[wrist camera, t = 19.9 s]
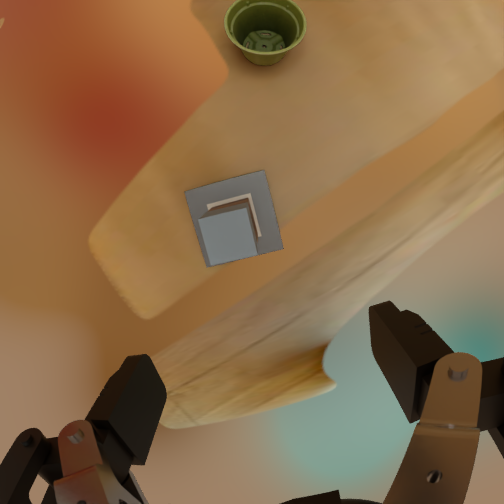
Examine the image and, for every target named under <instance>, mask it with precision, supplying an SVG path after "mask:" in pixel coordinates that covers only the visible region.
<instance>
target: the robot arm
mask: <svg viewBox="0 0 504 504" xmlns="http://www.w3.org/2000/svg"><path fill="white" fill-rule="evenodd" d="M369 322H370V335H371V347H372V351H373V355H374V358H375V360H376V362H377V364H378V365H379V367H380V369H381V371H382V372H383V374H384V376H385V378H386V380H387V381H388V383H389V385H390V387H391V389H392V391H393V392H394V394H395V396H396V398H397V400H398V402H399V404H400V406H401V408H402V409H403V411H404V413H405V415H406V417H407V419H408V421H409V423H413V422H415V421H417V420H420V421H419V423H417V425H416V427H415V430H414V433H413V436H412V438H411V441H410V443H409V446H408V449H407V451H406V454H405V456H404V459H403V461H402V463H401V466H400V468H399V471H398V473H397V475H396V477H395V479H394V481H393V484H392V486H391V488H390V490H389V492H388V494H387V496H386V498H385V500H384V502H383V504H463V503H464V500H465V497H466V493H467V490H468V486H469V483H470V479H471V474H472V470H473V466H474V462H475V457H476V453H477V447H478V442H479V435H480V432H481V431H485V430H488V432H489V433H490V435H491V437H492V438H493V440H494V442H495V444H496V445H497V447H498V449H499V451H500V452H501V454H502V456H503V458H504V357H503V358H499V359H495V360H490V361H486V362H480V361H479V360H478V359H477V358H476V357H475V356H473V355H470V354H468V353H461V352H460V353H459V352H457V353H454V352H453V350H452V349H451V348H450V347H449V346H448V345H447V344H446V343H445V342H444V341H443V340H442V339H441V338H440V337H439V336H438V334H437V333H436V332H435V331H433V330H432V328H431V327H430V326H429V325H428V324H426V322H425V321H424V320H423V319H422V318H421V317H420V316H419V315H418V314H416V313H413V312H411V311H409V310H404V311H401V312H400V311H399V309H398V308H397V307H396V306H395V305H394V304H393V303H392V302H391V301H387V302H383V303H380V304H376V305H373V306H370V307H369ZM166 398H167V393H166V388H165V385H164V383H163V382H162V380H161V378H160V376H159V374H158V372H157V370H156V368H155V366H154V364H153V362H152V360H151V358H150V357H149V356H148V355H147V354H142V355H133V356H128V357H127V358H126V359H125V361H124V362H123V364H122V365H121V367H120V369H119V370H118V371H117V372H116V373H115V374H113V375H112V376H111V377H110V378H109V380H108V382H107V383H106V385H105V386H104V389H103V390H102V391H101V393H100V396H98V398H97V400H96V401H95V403H94V405H93V407H92V408H91V410H90V411H89V413H88V415H87V417H86V418H85V420H77V421H73V422H71V423H69V424H67V425H66V426H65V427H64V428H63V429H62V430H61V432H60V433H59V436H58V437H54V438H46V437H45V436H44V435H43V434H42V432H41V431H40V430H39V429H37V428H30V429H27V430H25V431H23V432H22V433H21V434H20V435H19V436H18V437H17V438H16V440H15V441H14V443H13V445H12V446H11V448H10V449H9V451H8V453H7V454H6V456H5V458H4V459H3V461H2V463H1V465H0V504H32V503H31V501H30V499H29V491H30V489H31V487H32V485H33V483H34V481H35V479H36V476H37V474H39V475H40V476H41V477H42V478H43V479H44V480H45V481H46V482H47V483H48V484H49V487H48V489H47V491H46V493H45V496H44V498H43V501H42V503H41V504H149V503H148V501H147V500H146V498H145V496H144V494H143V492H142V490H141V489H140V487H139V484H138V483H137V480H136V479H135V476H134V474H133V473H132V472H131V471H130V470H129V469H130V466H131V465H145V462H146V459H147V456H148V453H149V450H150V447H151V444H152V441H153V438H154V435H155V432H156V429H157V426H158V423H159V420H160V417H161V414H162V411H163V408H164V405H165V402H166ZM281 504H382V503H378V502H374V501H369V500H362V499H340V495H339V490H335V491H331V492H327V493H322V494H317V495H312V496H307V497H301V498H296V499H292V500H289V501H286V502H284V503H281Z"/></svg>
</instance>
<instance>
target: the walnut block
mask: <svg viewBox="0 0 504 504" xmlns="http://www.w3.org/2000/svg"><path fill="white" fill-rule="evenodd" d="M246 202H248V206H249V210H250V214H251V219H252V223H253V227H254V231H255V235H256V240H257V243H258V232H257V228H256V224H255V221H254V217H253V213H252V209H251V206H250V202H249V198H244V199H240V200H237V201H233V202H229V203H225V204H222V205H218V206H215V207H212V208H211V209H209V210H208V211H207V212H209V211H213V210H217V209H221V208H225V207H229V206H233V205H237V204H242V203H246Z"/></svg>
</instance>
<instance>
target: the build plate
mask: <svg viewBox="0 0 504 504" xmlns="http://www.w3.org/2000/svg"><path fill="white" fill-rule="evenodd" d="M185 196H186V199H187V203H188V206H189V210H190V213H191V217H192V220H193V224H194V227H195V230H196V234H197V237H198V240H199V244H200V247H201V250H202V253H203V257H204V260H205V263H206V266H207V267H211V266H216V265H220V264H224V263H220V264H216V265H211V264H210V261H209V257H208V254H207V250H206V247H205V243H204V239H203V236H202V232H201V228H200V225H199V221H198V219H199V218H200V217H201V216H202V215H203V214H204V213H206V212H207V211H208V210H209V209H211V208H212V207H215V206H218V205H222V204H225V203H229V202H233V201H237V200H240V199H244V198H249V202H250V206H251V209H252V213H253V217H254V221H255V224H256V228H257V232H258V243H257V248H258V255H260V254H265V253H269V252H272V251H277V250H281V249H284V248H283V244H282V240H281V236H280V231H279V227H278V223H277V219H276V215H275V211H274V207H273V203H272V199H271V195H270V191H269V187H268V183H267V179H266V175H265V171H264V170H262V171H258V172H254V173H250V174H246V175H242V176H238V177H235V178H231V179H227V180H223V181H220V182H216V183H213V184H209V185H206V186H202V187H199V188H195V189H192V190H188V191H185ZM256 256H257V255H256ZM252 257H253V256H252ZM247 258H248V257H247ZM243 259H244V258H243ZM238 260H240V259H238ZM234 261H236V260H234ZM229 262H232V261H229ZM225 263H228V262H225Z"/></svg>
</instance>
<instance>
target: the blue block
mask: <svg viewBox="0 0 504 504" xmlns="http://www.w3.org/2000/svg"><path fill="white" fill-rule="evenodd" d="M198 221H199V225H200V228H201V232H202V236H203V239H204V243H205V247H206V250H207V254H208V257H209V261H210V264H211V265H216V264H220V263H225V262H229V261H234V260H238V259H243V258H247V257H252V256H256V255H258V248H257V240H256V235H255V231H254V227H253V223H252V219H251V214H250V210H249V206H248V202H246V203H242V204H237V205H233V206H229V207H225V208H221V209H217V210H213V211H209V212H206V213H204V214H203V215H202V216H201V217H200V218H199V219H198Z"/></svg>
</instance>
